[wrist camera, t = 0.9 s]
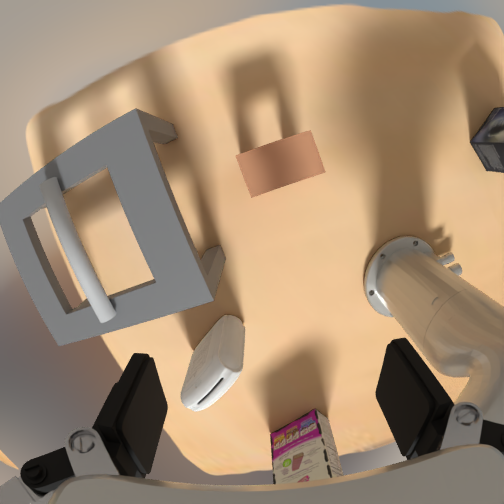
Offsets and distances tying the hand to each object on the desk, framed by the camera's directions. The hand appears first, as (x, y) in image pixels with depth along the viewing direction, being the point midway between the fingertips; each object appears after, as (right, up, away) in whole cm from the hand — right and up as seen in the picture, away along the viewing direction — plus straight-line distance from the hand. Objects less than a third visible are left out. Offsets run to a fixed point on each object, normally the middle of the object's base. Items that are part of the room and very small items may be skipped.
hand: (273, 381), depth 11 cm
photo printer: (-6, -8, +33) cm, 34 cm away
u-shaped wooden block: (+2, +16, +25) cm, 30 cm away
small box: (+38, +24, +23) cm, 50 cm away
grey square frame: (-18, +9, +27) cm, 34 cm away
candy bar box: (+8, -29, +39) cm, 49 cm away
